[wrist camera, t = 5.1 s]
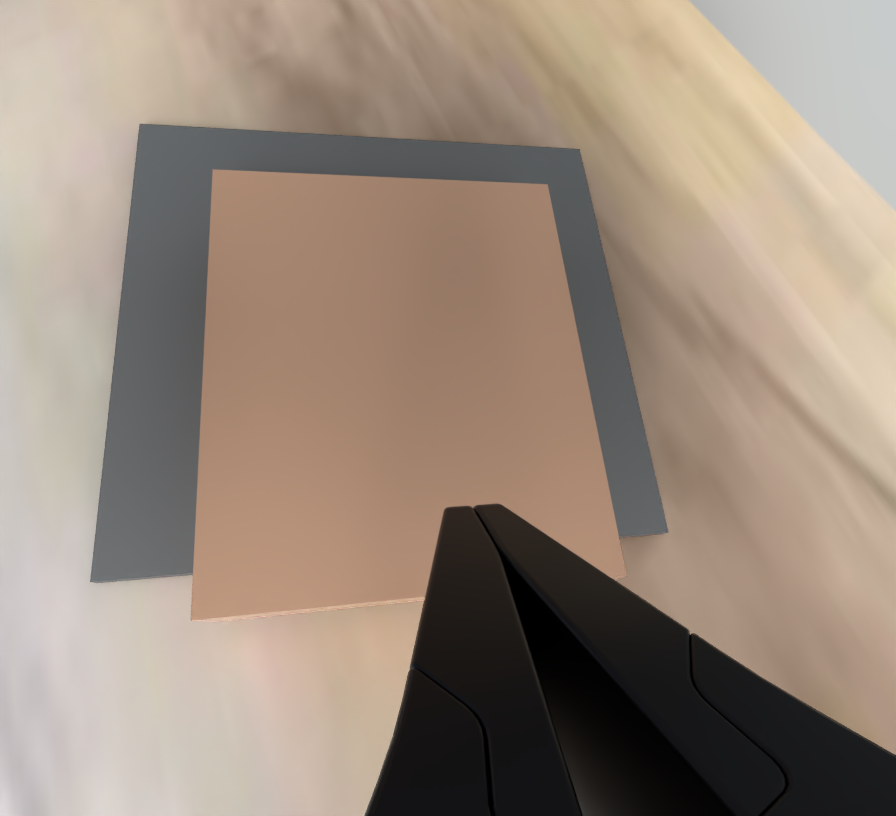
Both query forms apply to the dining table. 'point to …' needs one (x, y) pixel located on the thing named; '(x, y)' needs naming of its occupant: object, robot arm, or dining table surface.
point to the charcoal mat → (184, 310)
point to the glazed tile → (383, 387)
